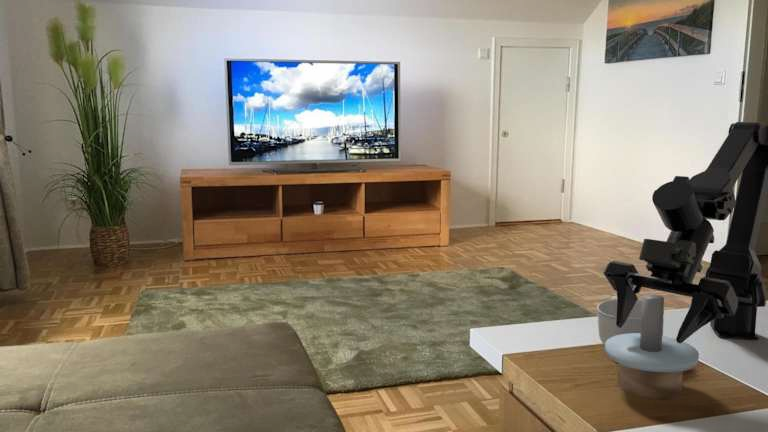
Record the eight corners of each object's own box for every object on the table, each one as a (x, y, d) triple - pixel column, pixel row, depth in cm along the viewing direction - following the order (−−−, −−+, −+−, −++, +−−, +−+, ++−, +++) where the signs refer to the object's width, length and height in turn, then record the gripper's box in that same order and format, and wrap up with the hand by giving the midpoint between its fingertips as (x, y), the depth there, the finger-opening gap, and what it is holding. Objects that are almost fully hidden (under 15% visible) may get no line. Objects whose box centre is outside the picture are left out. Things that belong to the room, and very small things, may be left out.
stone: (674, 375, 100) (675, 345, 99) (687, 401, 92) (689, 368, 91) (614, 371, 102) (615, 342, 101) (621, 396, 94) (623, 364, 93)
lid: (686, 341, 101) (689, 286, 99) (708, 375, 88) (712, 313, 87) (600, 337, 104) (602, 283, 102) (610, 369, 91) (612, 308, 90)
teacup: (668, 364, 105) (671, 317, 103) (599, 360, 107) (601, 315, 106) (651, 334, 118) (653, 292, 117) (590, 331, 120) (591, 291, 119)
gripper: (611, 211, 102) (571, 292, 97) (736, 226, 88) (697, 321, 83) (634, 251, 109) (597, 329, 103) (753, 270, 95) (718, 361, 89)
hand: (647, 333), depth 95 cm, fingers open, 9 cm apart
